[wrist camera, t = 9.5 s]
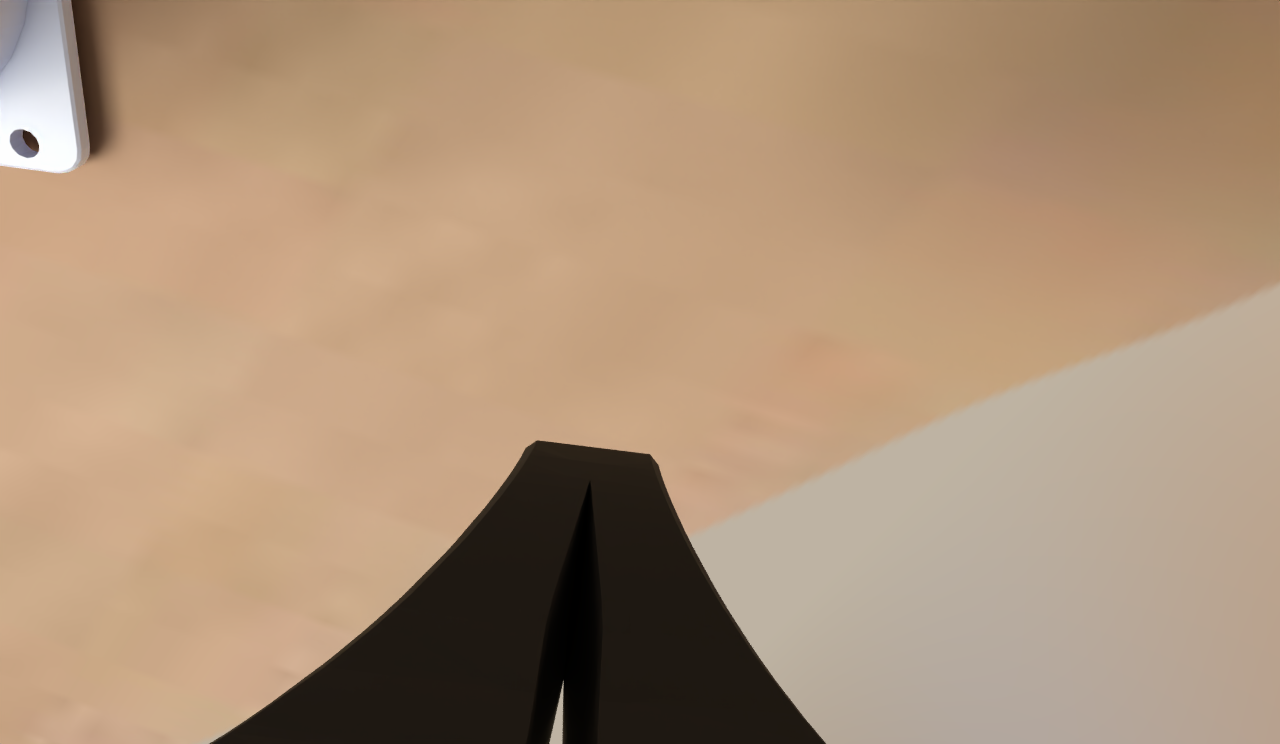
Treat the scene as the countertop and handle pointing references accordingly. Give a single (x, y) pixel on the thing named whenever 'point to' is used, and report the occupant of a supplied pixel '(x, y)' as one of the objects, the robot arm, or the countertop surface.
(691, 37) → the countertop surface
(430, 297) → the countertop surface
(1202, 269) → the countertop surface
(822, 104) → the countertop surface
